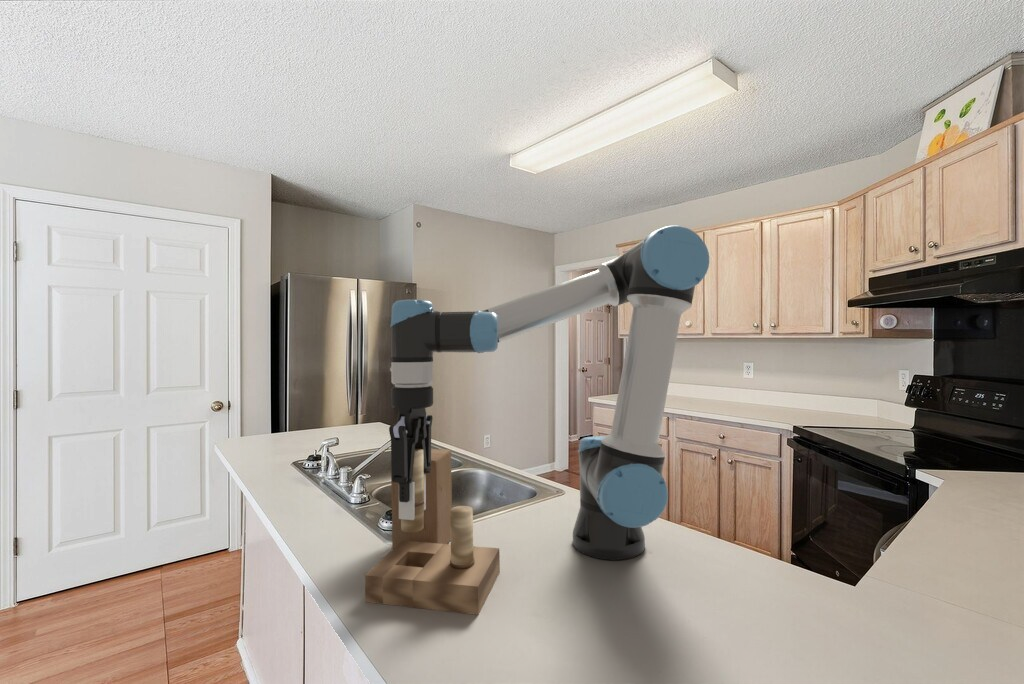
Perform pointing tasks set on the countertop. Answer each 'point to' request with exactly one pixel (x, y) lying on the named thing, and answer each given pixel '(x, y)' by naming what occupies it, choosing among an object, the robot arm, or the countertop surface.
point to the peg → (417, 495)
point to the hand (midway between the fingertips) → (412, 513)
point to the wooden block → (429, 504)
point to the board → (437, 571)
